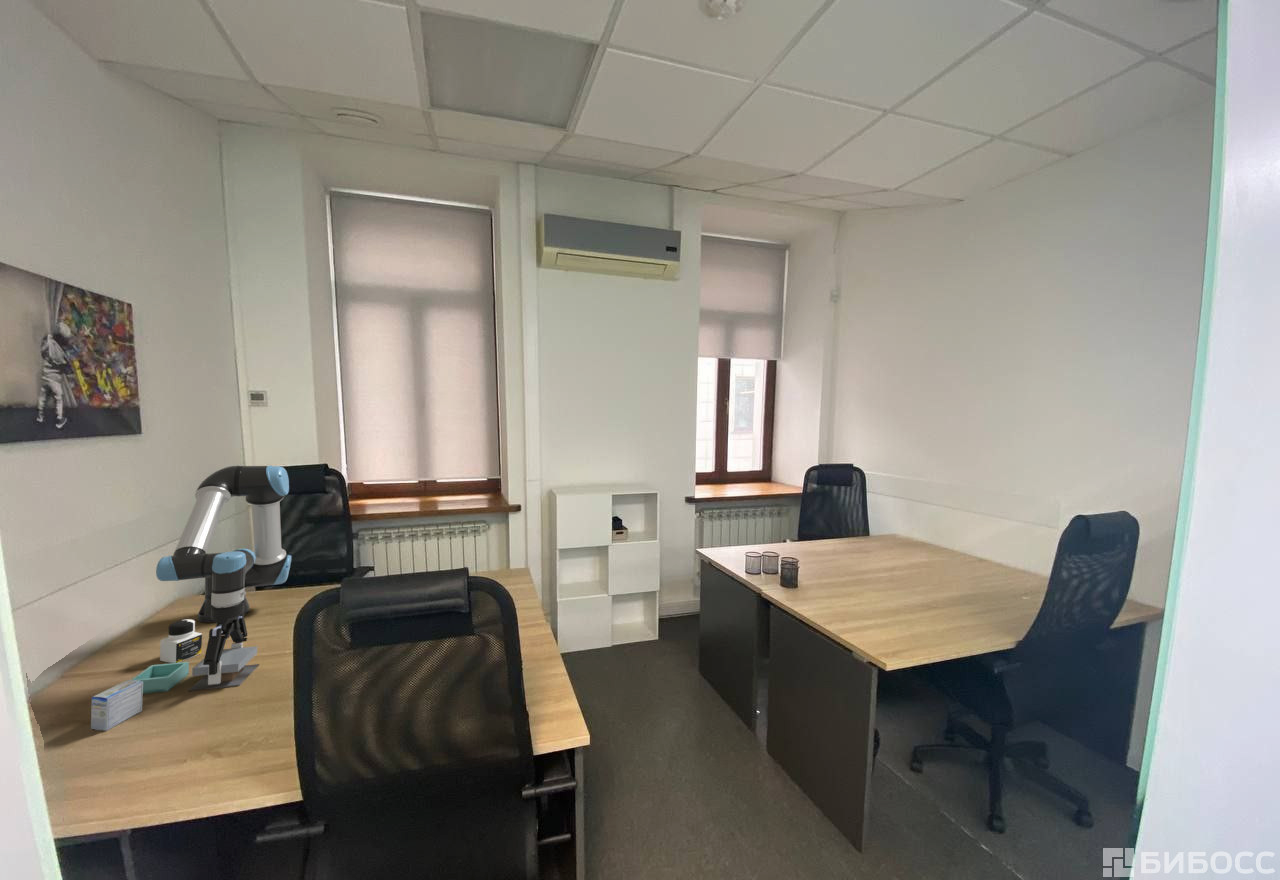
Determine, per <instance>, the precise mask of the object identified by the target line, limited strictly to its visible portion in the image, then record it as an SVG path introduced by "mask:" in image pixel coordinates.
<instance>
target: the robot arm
mask: <svg viewBox="0 0 1280 880" xmlns="http://www.w3.org/2000/svg"><path fill="white" fill-rule="evenodd" d="M289 480H290V479H289V474H288V471H287V470H286V468H284V467H283V466H278V465H276V466H275V465H231V466H226V467H224V468H221V469H219V470H217V471H215V472H213V473H211V474H209V476H207V477H206V478H205V479H204V480H203V481H201V483H200V484H199V486H198V487H197V489H196V491H195V493H194V497H195V500H196V501H195V503H194V506H193V507H192V511H191V512H190V515H189V517H188V519H187V521H186V524H185V526H184V528H183V531H182V533H181V536H180V538H179V540H178V542H177V544H176V547H175V548H174V551H173V555H168V556H163V557H161V559H159V560H158V562H157V564H156V568H155V575H156V578H157V580H158V581H160V582H176V581H177V582H179V581H185V580H193V579H194V580H195V579H204V600H203V602H202V604H201V607H200V608H199V611H198V614H197V621H198V622H199V623H203V624H204V623H206V624H207V623H208V624H209V623H211V624H212V623H213V624H214V623H216V626H215V627H214V628H210V629H209V632H208V640H207V641H208V642H207V644H206V650H205V654H204V658H203V659H204V663H203V665H209V671H208V685H212V684H220V683H221V664H222V661H220V658H221V655H222V652H223V649H225V645H226V643H227V639H229V638H231V640H232V642H233V643H231V644H230V646H231V647H230V649H232V648H244V642H247V641H248V631H247V625H246V620H245V615H246V614H247V612H248V611H250V604H249V601H248V599H247V596H246V594H247V591H245V589H246V588H254V587H255V588H256V587H264V586H265V587H266V586H274V585H282V584H284V583H286V581H287V579H288V577H289V572H290V568H291V564H292V555H290V554H287V550H285V549H284V548H283V547H282V529H281V528H282V527H281V525H282V524H281V506H280V502H281V501H282V500H283V499H284V498H285V496H287V495H288V494H289V492H290V485H289V484H290V481H289ZM233 497H245V502H246V503H247V504H249V505H250V507H251V520H252V534H253V549H254V550H251V549H250V548H238V549H237V548H236V549H235V550H233V551H226V552H215V553H214V552H211V553H208V551H209V547H210V545H211V542H212V539H213V537H214V533H215V531H216V528H217V526H218V524H219V521H220V518H221V515H222V513H223V510H224V507H225V504H227V503H228V502H229V501H231V498H233ZM248 613H249V612H248ZM244 614H245V615H244Z"/></svg>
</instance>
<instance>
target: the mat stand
mask: <svg viewBox="0 0 1280 880" xmlns="http://www.w3.org/2000/svg"><path fill="white" fill-rule="evenodd" d="M259 666H260V663H257V664H256V663H255V664H246V665H245V666H244V667H243V668H241V669H240V670H239V671H238V672H230V673H221V683H220V684H212V685H208V675H203V677H202V678H201V679H199V681H197V682H196V683H195V684H194V685H193V686H192V687H190V688H189V689H188V692H195V691H205V690H206V691H207V690H213V689H224V688H233V687H239V686H241V685H242V683H244V681H245V680H246V679H247V678H249V676H250V675H251V674H252V673H253V672H255V670H256V669H257V668H258V667H259Z"/></svg>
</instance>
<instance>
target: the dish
mask: <svg viewBox="0 0 1280 880" xmlns="http://www.w3.org/2000/svg"><path fill="white" fill-rule="evenodd" d="M189 667H190V661H182V662H180V663H161V664H152V665H150V666H148V667H147V668H146V669H144V670H142V671H141V672H140V673H138V674H137V675H136V676H135V677H133V678H131V679H130V680H136V681H143V694H155V693H162V692H169V691H170V690H172V689H173V688H174V687H175V686H176V685H177V684H179V683H180V682H181V681H183V680H184V679H185V678H186V677H187V676H189V670H190V669H189Z"/></svg>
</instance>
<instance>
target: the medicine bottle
mask: <svg viewBox="0 0 1280 880" xmlns="http://www.w3.org/2000/svg"><path fill="white" fill-rule="evenodd" d="M195 625H196V621H195V620H194V619H189V618H188V619H180V620H177V621H174V622H172V623H171V624H169V625H168V636H166V637H164V638H161V640H160V646H159V647H160V648H159V649H160V651H159V653H160V654H159V655H160V656H159V658H160V659H159V661H160V662H165V663H168V664H170V663H181V662H186V661H187V660H189V659H192V658H195V657H196V656H199V655H201V654H202V645H203V633H201V632H197V631H196V626H195Z"/></svg>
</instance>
